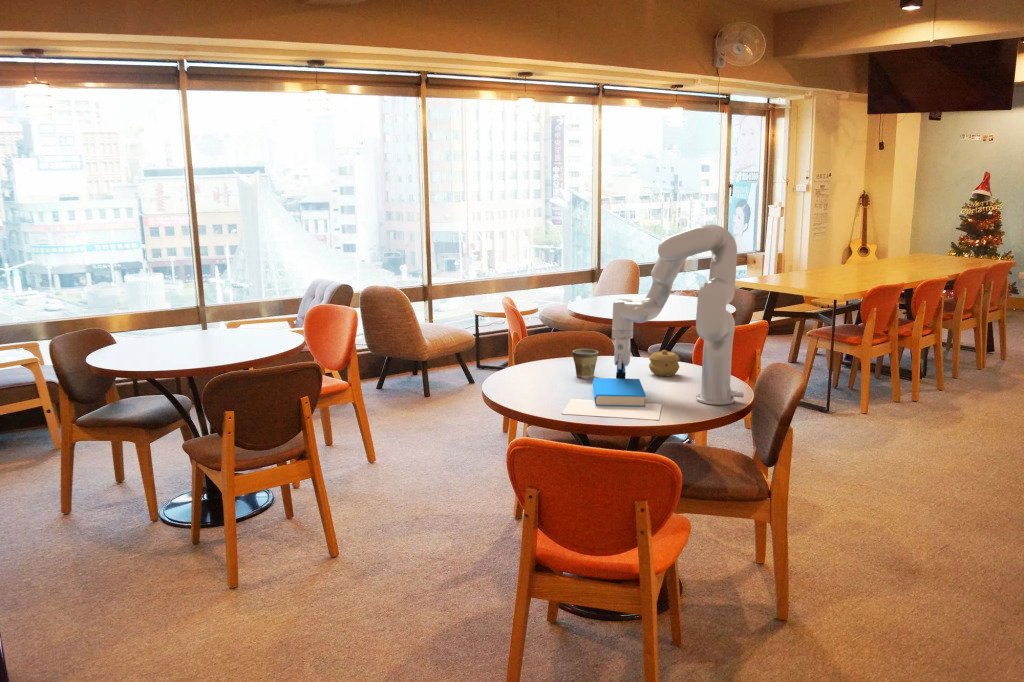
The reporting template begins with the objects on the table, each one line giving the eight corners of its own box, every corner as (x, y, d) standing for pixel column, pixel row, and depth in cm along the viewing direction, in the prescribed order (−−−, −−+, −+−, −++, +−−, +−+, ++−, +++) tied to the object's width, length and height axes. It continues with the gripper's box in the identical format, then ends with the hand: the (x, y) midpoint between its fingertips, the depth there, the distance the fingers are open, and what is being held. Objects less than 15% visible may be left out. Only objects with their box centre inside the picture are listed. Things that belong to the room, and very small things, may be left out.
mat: (661, 404, 269) (661, 404, 269) (658, 420, 251) (658, 419, 251) (570, 399, 276) (570, 398, 276) (561, 414, 258) (561, 413, 258)
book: (639, 378, 289) (646, 394, 265) (638, 390, 290) (646, 406, 265) (591, 377, 290) (594, 393, 266) (591, 389, 291) (594, 406, 266)
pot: (676, 371, 318) (677, 347, 316) (681, 378, 306) (682, 353, 304) (646, 371, 318) (647, 347, 316) (650, 378, 306) (651, 353, 304)
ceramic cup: (598, 379, 305) (599, 354, 303) (572, 379, 305) (573, 353, 303) (596, 371, 317) (596, 347, 315) (570, 371, 318) (571, 347, 316)
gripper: (630, 337, 280) (628, 388, 284) (634, 330, 295) (632, 378, 298) (609, 336, 282) (607, 387, 286) (614, 329, 296) (612, 377, 300)
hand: (620, 382), depth 292 cm, fingers closed
